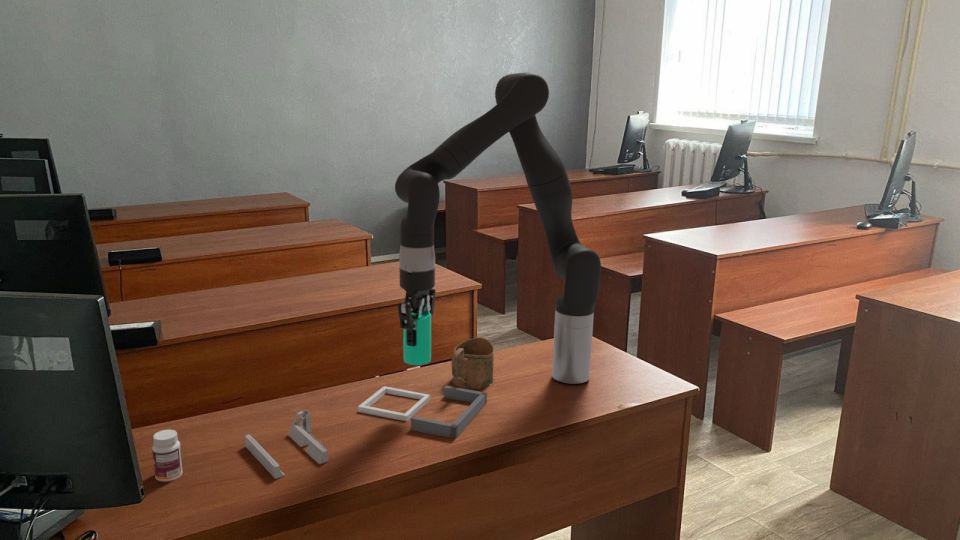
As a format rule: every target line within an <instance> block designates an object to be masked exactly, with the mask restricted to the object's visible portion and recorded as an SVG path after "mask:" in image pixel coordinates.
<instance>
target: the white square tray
mask: <svg viewBox="0 0 960 540" xmlns="http://www.w3.org/2000/svg"><path fill="white" fill-rule="evenodd" d="M385 394H389V395H394V396H400V397H406V398H411V399H416V400H418V401H417V402H416V403H415V404H414V405H413V406H411V408H409V409H408V410H407V411H406V412H405V413H404V412H399V411H394V410H388V409H385V408H379V407H374V406H372V405H374V403H376V402H377V401H378V400H380V399H381V398H382V397H383V396H384V395H385ZM430 400H431V394H427V393H421V392H416V391H412V390H407V389H400V388H396V387H391V386H385V385H384V386H382V387H381V388H379V390H377V391H376V392H375V393H373V394H372V395H371V396H369V397H368V398H367V399H366V400H365V401H363V402H362V403H361V404H359V405H358V406H357V412H358V413H361V414H367V415H372V416H378V417H383V418H388V419H394V420H398V421H399V420H400V421H404V422H408V421H409V420H411V418H412V417H413V416H415V414H417V413H418V412H419V411H420V409H422V407H423V406H425V405H426V404H427V403H428V402H429V401H430Z"/></svg>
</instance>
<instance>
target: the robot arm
mask: <svg viewBox="0 0 960 540" xmlns="http://www.w3.org/2000/svg"><path fill="white" fill-rule="evenodd" d="M549 89H550V88H549V85H548V82H547V81H546V80H545V79H544V78H543V76H541V75H540V74H538V73H534V72H518V73H516V72H515V73H509V74H506V75H503V76H502V77H501V78H500V79H499V80H498V82H497V84H496V85H495V92H494V97H495V103H496V104H495V105H494V106H493V107H492V108H490V110H488V111H486V112H485V113H484V114H482V115H481V116H479V117H477V118H476V119H474V120H472V121H471V122H469V123H467V124H466V125H464V126H463V127H461V128H459V129H458V130H456V131H455V132H453V133H452V134H451V135H449V137H448V138H446V139H445V140H444V141H443V142H441V144H439V145H438V146H437V147H436V148H435V149H434V150H433V151H432V152H430V153H429V154H427V155H425V156H423V157H422V158H420V159H418V160H417V161H415V162H414V163H412V164H411V165H409V166H408V167H406V168H405V169H404V170H403V171H402V172H401V173H400V174H399V175H398V177H397V178H396V181H395V184H394V189H395V190H394V192H395V194H396V196H397V197H398V199H400V200H401V201H402V202H404V203H407V211H406V212H407V214H406V217H404V218H402V220H401V222H400V226H399V227H400V230H399V232H400V234H399V235H400V237H399V239H400V241H399V242H400V243H399V244H400V247H399V248H400V249H399V253H398V254H399V261H398V262H399V264H398V265H399V270H398V271H399V287H400V288H401V289H403V290H404V291H405V297H404V302H403V303H401V302H400V303H398V305H397V309H398V319H399V325H400V329H402V330H403V329H406V335H407V345H408V346H416V344H417V340H416V329H417V320H419V319H420V318H421V313H424V314H427V313H429V312H430V314H431V317H433V316H434V311H435V303H436V302H435V301H436V299H435V298H436V289H435V286H436V254H435V229H434V228H435V222H436V218H437V213H438V208H439V204H440V185H439V183H441V182H442V181H446V180H451V179H453V178H455V177H457V176H458V175H460V173H461V172H462V171H463V170H465V169H466V168H467V167H468V166H469V165H470V164H472V162H473V161H475V160H477V158H478V157H479V156H481V155H482V154H483V153H484V152H485V151H486V150H487V149H489V148H490V147H491V146H492V145H493V144H495V143H496V142H497V141H498V140H500V139H501V138H502V137H504V136H505V135H507V134H508V133H509V135H510V137H511V139H512V142H513V145H514V147H515V151H516V154H517V157H518V159H519V162H520V165H521V169H522V170H523V174H524V177H525V180H526V185H527V186H528V189H529V193H530V196H531V198H532V201H533V203H534V206H535V208H536V209H535V210H536V212H537V215H538V217H539V221H540V222H541V225H542V228H543V231H544V234H545V238H546V242H547V247H548V251H549V255H550V260H551V264H552V267H553V269H554V271H555V274H557V276H558V277H560V278H561V279H562V280H564V288H563V294H562V295H560V296H559V295H558V297H557V298H556V300H555V311H554V313H555V314H554V327H553V328H554V329H553V334H554V335H553V350H552V363H551V364H552V367H551V368H552V369H551V370H552V371H551V376H552V378H553V379H554V380H556V381H558V382H561V383H565V384H571V385H574V384H575V385H577V384H583V383H585V382H588V381H589V380H590V374H591V373H590V372H591V359H592V346H593V344H592V343H593V332H594V329H593V328H594V317H595V316H594V312H595V306H596V304H597V301H598V299H599V294H600V287H601V285H600V284H601V276H602V275H601V274H602V263H601V259H600V258H601V257H600V256H599V255H598V253H597V252H596V251H594V250H593V249H590V248H589V247H587V246H584V245H582V243H581V242H580V239H579V237H578V234H577V231H576V229H575V227H574V223H573V219H572V209H573V207H572V206H573V191H572V185H571V182H570V179H569V176H568V173H567V170H566V167H565V165H564V163H563V161H562V159H561V157H560V156H559V154H558V152H557V151H556V149H554V147H553V146H552V144H551V143H550V142H549V141H548V139H547V138H546V136H545V135H544V133H543V131H542V129H541V127H540V125H539V122H538V120H537V114H539V113H540V112H541V111H542V110H543V109H544V108H545V107H546V105H547V103H548V101H549V95H550V90H549ZM412 313H417V314H416V315H412ZM413 319H414V322H413Z"/></svg>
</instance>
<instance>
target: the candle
mask: <svg viewBox="0 0 960 540" xmlns="http://www.w3.org/2000/svg"><path fill="white" fill-rule="evenodd" d="M416 314H417V313H412V315H416ZM413 322H414V319H413ZM402 330H403V332H402V333H403V334H402V337H403V345H402V346H403V362H404V363H405V364H408V365H411V366H423V365H427V364H429V363H430V362H431V361H432V316H431V314H430V312H429V313H427V314H424V313H421V318H420V319H419V320H417V329H416V340H417V344H416V346H408V345H407V335H406V329H402Z"/></svg>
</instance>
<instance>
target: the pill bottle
mask: <svg viewBox="0 0 960 540" xmlns="http://www.w3.org/2000/svg"><path fill="white" fill-rule="evenodd" d="M152 437H153V445H152V447H151V451H152V459H153V468H154V469H153V470H154V471H153V472H154V478H155V479H156V480H157V481H159V482H172V481H175V480H177V479H179V478H180V477H182V475H183V473H184V472H183V461H182V450H181V449H182V447H181V441H179V440H178V439H179V438H178V432H177V431H176V430H174V429H162V430H159V431H157V432H156V433H154V435H153V436H152Z"/></svg>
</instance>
